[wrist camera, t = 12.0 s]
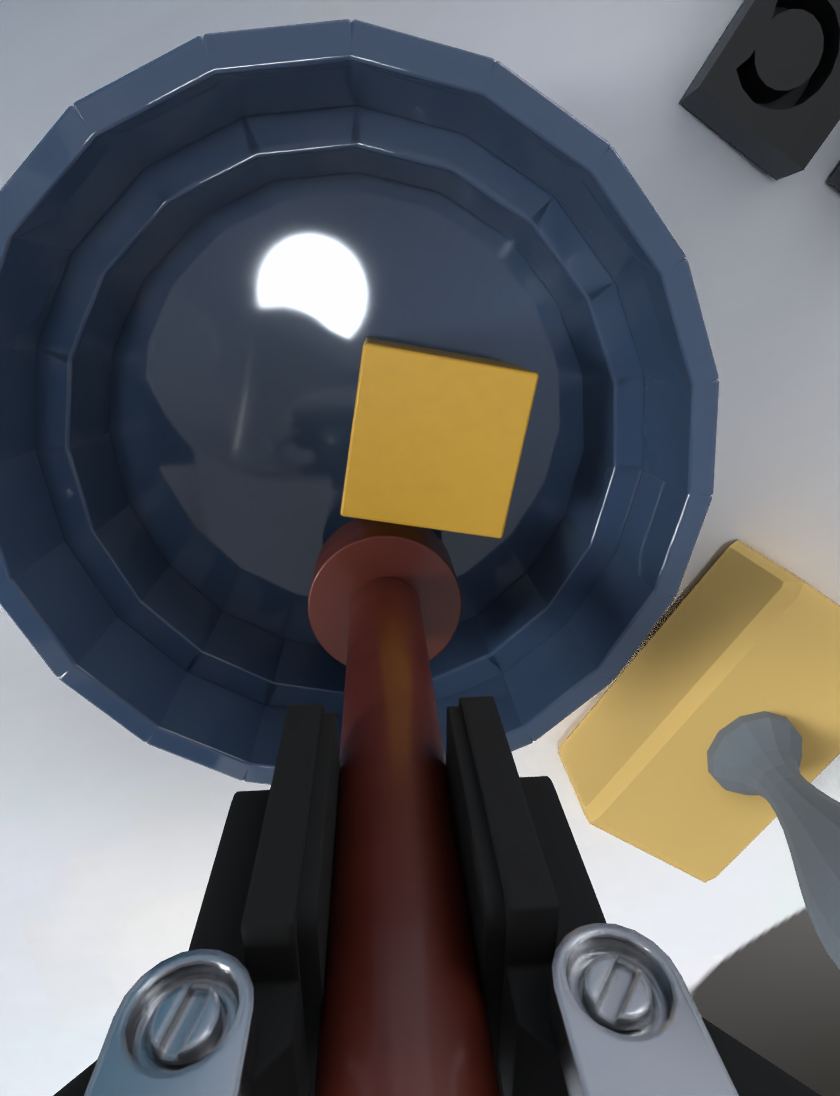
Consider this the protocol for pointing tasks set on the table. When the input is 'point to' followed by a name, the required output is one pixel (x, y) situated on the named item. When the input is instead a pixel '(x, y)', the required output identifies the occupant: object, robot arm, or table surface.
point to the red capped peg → (395, 831)
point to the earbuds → (774, 83)
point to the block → (436, 438)
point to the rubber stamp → (725, 732)
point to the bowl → (330, 377)
